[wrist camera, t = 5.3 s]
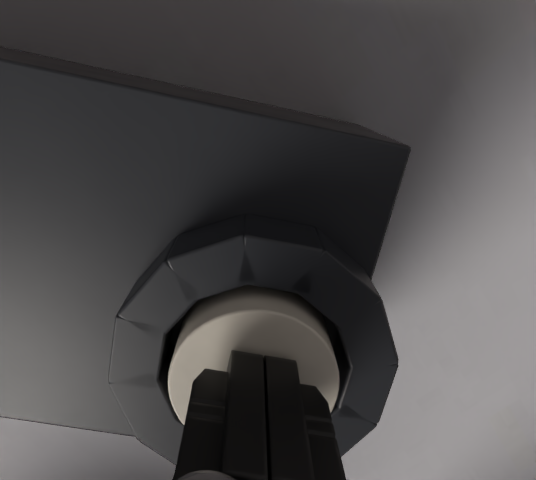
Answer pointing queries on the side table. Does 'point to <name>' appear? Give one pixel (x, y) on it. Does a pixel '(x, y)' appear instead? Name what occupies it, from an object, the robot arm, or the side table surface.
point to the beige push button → (252, 339)
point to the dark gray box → (175, 239)
